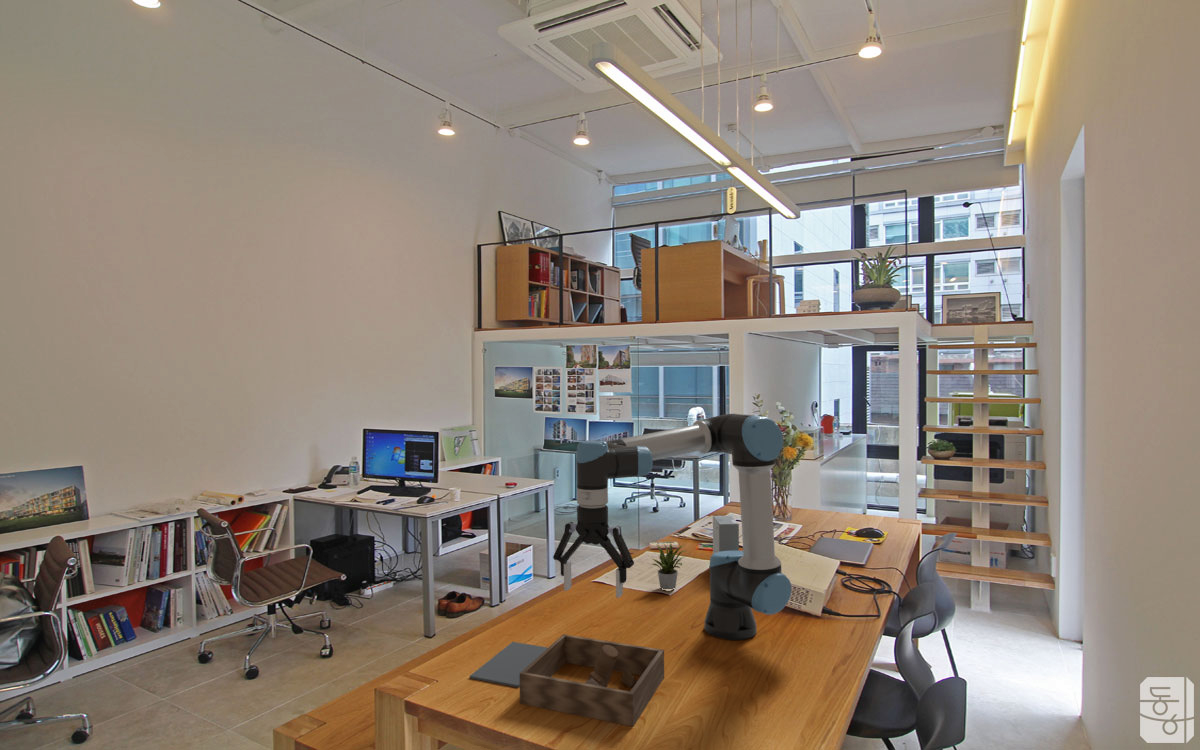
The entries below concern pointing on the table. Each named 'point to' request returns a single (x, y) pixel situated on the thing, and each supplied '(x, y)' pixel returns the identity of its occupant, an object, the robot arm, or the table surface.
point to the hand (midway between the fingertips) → (593, 592)
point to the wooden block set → (608, 669)
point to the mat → (508, 664)
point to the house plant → (668, 567)
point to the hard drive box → (725, 534)
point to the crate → (587, 697)
